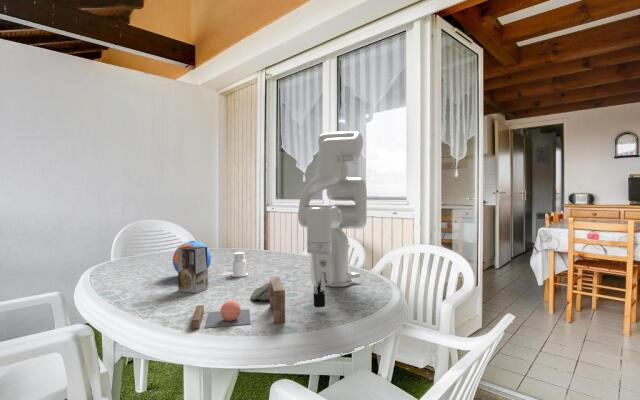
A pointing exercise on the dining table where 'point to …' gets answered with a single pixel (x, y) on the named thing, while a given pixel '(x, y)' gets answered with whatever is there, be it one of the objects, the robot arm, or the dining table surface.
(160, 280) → the dining table surface
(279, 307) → the bridge
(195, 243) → the treat dispenser ball
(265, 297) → the fossilized seashell
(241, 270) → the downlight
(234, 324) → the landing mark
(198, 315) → the strip
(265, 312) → the dining table surface
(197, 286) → the coffee box
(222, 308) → the ball
